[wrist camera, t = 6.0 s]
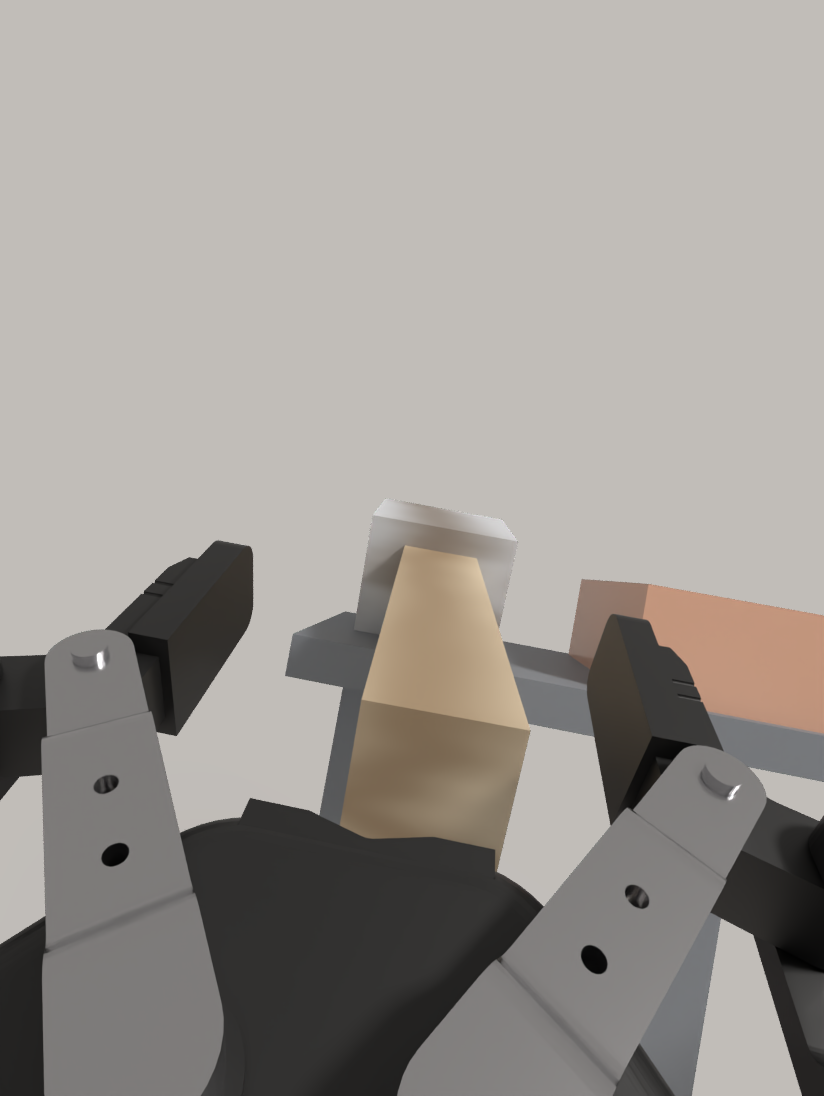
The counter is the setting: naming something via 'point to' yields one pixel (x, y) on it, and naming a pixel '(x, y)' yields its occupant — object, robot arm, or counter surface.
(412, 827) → the mallet
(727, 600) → the base block
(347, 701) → the shelf
